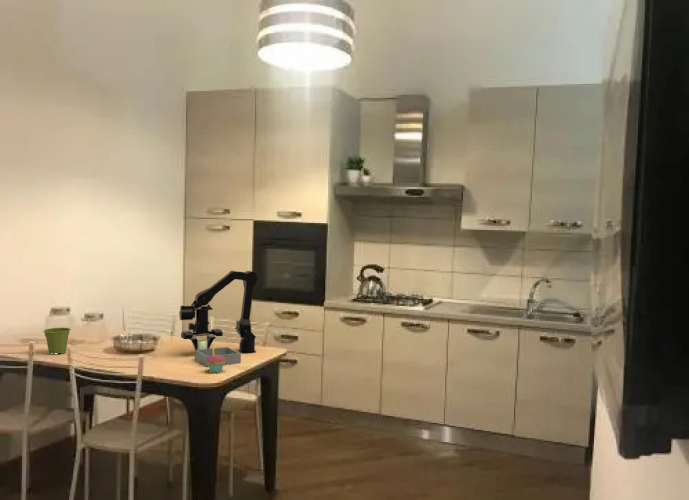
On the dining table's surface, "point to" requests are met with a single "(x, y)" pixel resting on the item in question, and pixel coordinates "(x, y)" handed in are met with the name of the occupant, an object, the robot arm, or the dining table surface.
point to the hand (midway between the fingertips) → (201, 351)
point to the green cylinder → (201, 344)
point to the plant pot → (57, 339)
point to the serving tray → (226, 352)
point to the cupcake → (215, 362)
